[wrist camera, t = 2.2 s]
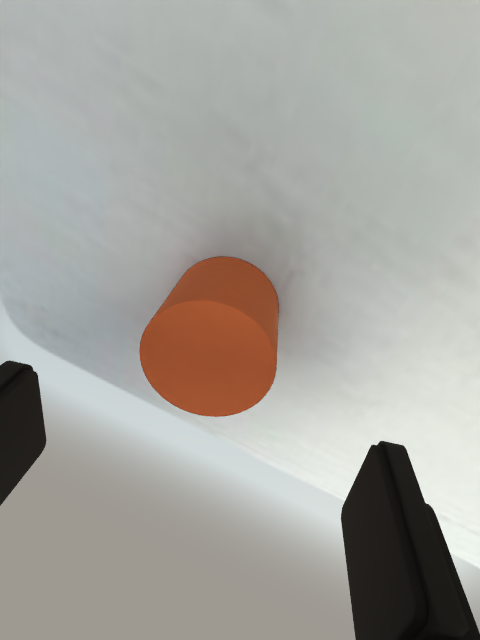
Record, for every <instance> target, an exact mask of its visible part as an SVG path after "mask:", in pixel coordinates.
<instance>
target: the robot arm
mask: <svg viewBox="0 0 480 640" xmlns="http://www.w3.org/2000/svg"><path fill="white" fill-rule="evenodd" d="M40 397H41V396H40V389H39V382H38V375H37V373H36V372H34V371H33V368H32V366H30V365H28V364H23V363H18V362H14V361H6V362H5V363H3V364H2V365H0V505H1V504H2V503H3V501H4V500H5V499H6V498H7V496H8V495H9V494H10V493H11V491H12V490H13V489H14V487H15V486H16V485H17V484H18V482H19V481H20V480H21V479H22V477H23V476H24V474H25V473H26V472H27V471H28V470H29V468H30V467H31V466H32V465H33V463H34V462H35V461H36V459H37V458H38V457H39V456H40V454H41V453H42V451H43V450H44V448H45V444H46V434H45V427H44V419H43V412H42V404H41V398H40ZM341 522H342V530H343V538H344V547H345V555H346V563H347V571H348V580H349V587H350V596H351V604H352V612H353V621H354V629H355V637H356V640H480V634H479V631H478V628H477V625H476V622H475V620H474V617H473V614H472V612H471V609H470V606H469V603H468V601H467V598H466V595H465V593H464V590H463V588H462V585H461V582H460V579H459V577H458V574H457V571H456V568H455V566H454V563H453V560H452V558H451V555H450V552H449V549H448V547H447V544H446V541H445V539H444V536H443V533H442V530H441V528H440V525H439V522H438V520H437V517H436V514H435V512H434V510H433V509H432V507H431V506H430V505H429V504H426V503H425V501H424V498H423V496H422V493H421V490H420V487H419V484H418V481H417V479H416V476H415V473H414V470H413V467H412V464H411V462H410V459H409V456H408V453H407V450H406V448H405V447H404V446H403V445H399V444H394V443H389V442H385V441H380V442H379V443H378V445H372V446H371V447H370V449H369V451H368V454H367V456H366V458H365V460H364V462H363V464H362V466H361V469H360V471H359V473H358V475H357V477H356V479H355V481H354V483H353V486H352V488H351V490H350V492H349V494H348V496H347V498H346V501H345V503H344V505H343V507H342V513H341Z"/></svg>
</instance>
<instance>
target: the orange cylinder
mask: <svg viewBox="0 0 480 640" xmlns="http://www.w3.org/2000/svg"><path fill="white" fill-rule="evenodd" d="M278 313H279V304H278V298H277V294H276V291H275V289H274V287H273V285H272V283H271V282H270V280H269V279H268V278H267V276H266V275H265V274H264V273H263V272H262V271H261V270H259V269H258V268H257V267H255V266H254V265H252V264H250V263H248V262H246V261H243V260H241V259H237V258H232V257H214V258H209V259H206V260H203V261H201V262H199V263H197V264H195V265H194V266H192V267H191V268H190V269H188V270H187V272H186V273H185V274H184V275H183V276H182V278H181V279H180V280H179V282H178V283H177V285H176V286H175V287H174V289H173V290H172V292H171V293H170V294H169V296H168V297H167V299H166V300H165V301H164V303H163V304H162V306H161V307H160V308H159V310H158V311H157V312H156V314H155V315H154V317H153V318H152V319H151V321H150V322H149V324H148V325H147V327H146V328H145V331H144V333H143V335H142V338H141V342H140V360H141V365H142V368H143V371H144V373H145V376H146V378H147V379H148V381H149V382H150V384H151V385H152V387H153V388H154V389H155V390H156V391H157V392H158V393H159V394H160V395H161V396H162V397H163V398H164V399H166V400H167V401H168V402H170V403H171V404H173V405H175V406H176V407H178V408H180V409H182V410H185V411H188V412H190V413H194V414H198V415H203V416H214V417H218V416H228V415H233V414H237V413H240V412H242V411H245V410H247V409H249V408H251V407H252V406H254V405H255V404H257V403H258V402H259V401H260V400H261V399H262V398H263V397H264V396H265V395H266V394H267V392H268V391H269V389H270V387H271V386H272V384H273V381H274V378H275V374H276V364H277V338H278Z"/></svg>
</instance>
